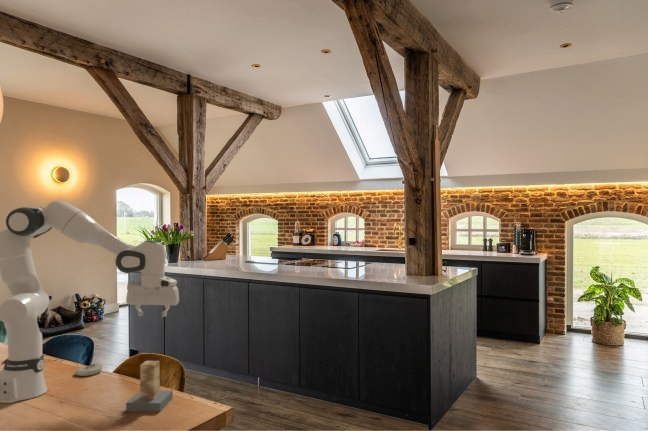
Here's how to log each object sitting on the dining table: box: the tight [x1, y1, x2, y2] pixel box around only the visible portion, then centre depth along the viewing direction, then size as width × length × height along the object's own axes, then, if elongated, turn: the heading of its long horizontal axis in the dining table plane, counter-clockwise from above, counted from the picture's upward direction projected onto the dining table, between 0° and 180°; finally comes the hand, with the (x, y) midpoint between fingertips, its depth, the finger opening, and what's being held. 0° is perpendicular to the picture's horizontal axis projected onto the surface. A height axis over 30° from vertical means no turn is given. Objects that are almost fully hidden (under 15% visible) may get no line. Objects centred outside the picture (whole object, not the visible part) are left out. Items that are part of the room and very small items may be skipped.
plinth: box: [125, 389, 174, 413], centre depth 168 cm, size 12×12×3 cm
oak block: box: [139, 360, 161, 399], centre depth 168 cm, size 5×5×12 cm
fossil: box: [75, 362, 103, 377], centre depth 203 cm, size 11×4×10 cm
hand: (152, 316), depth 186 cm, fingers open, 8 cm apart
